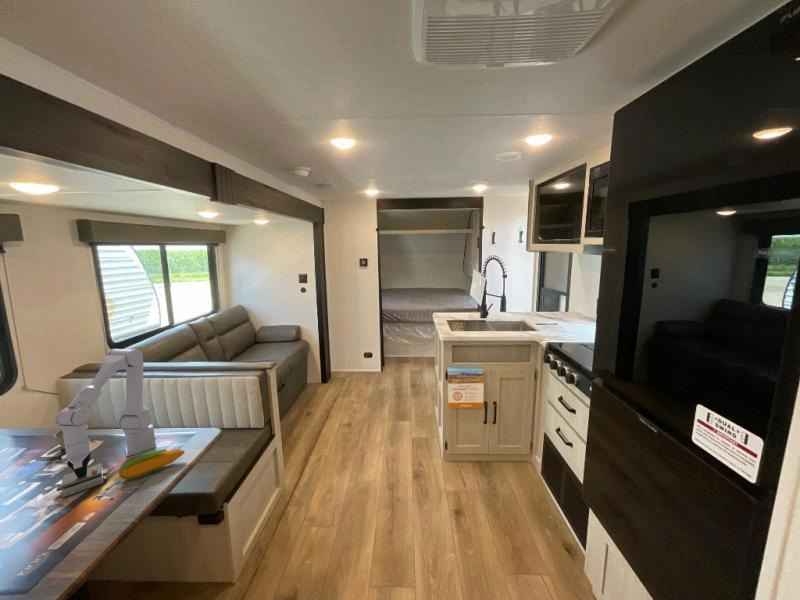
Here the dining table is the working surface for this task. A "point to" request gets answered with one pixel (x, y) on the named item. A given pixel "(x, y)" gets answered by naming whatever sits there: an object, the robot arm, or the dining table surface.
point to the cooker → (83, 485)
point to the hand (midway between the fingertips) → (82, 476)
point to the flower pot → (61, 438)
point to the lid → (73, 479)
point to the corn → (148, 463)
